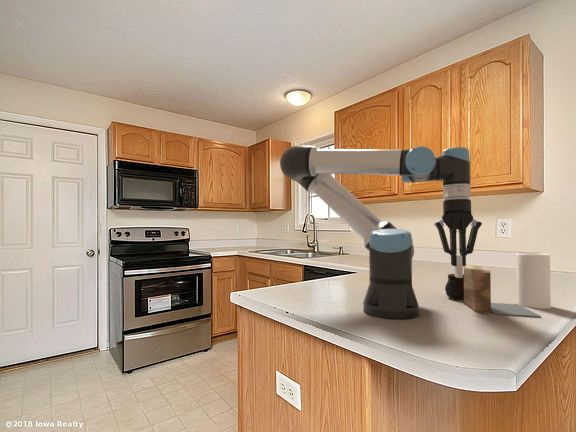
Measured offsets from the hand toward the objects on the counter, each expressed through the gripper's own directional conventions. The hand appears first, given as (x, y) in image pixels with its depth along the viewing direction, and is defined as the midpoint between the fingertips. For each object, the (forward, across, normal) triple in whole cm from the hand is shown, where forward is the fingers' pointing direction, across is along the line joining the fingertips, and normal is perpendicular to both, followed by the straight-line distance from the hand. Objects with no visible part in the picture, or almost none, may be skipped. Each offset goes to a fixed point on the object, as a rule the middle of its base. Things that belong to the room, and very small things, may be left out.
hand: (458, 276), depth 96 cm
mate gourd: (+9, +3, +12) cm, 16 cm away
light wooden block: (+9, +5, 0) cm, 10 cm away
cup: (+10, +23, +8) cm, 26 cm away
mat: (+9, +13, 0) cm, 16 cm away
